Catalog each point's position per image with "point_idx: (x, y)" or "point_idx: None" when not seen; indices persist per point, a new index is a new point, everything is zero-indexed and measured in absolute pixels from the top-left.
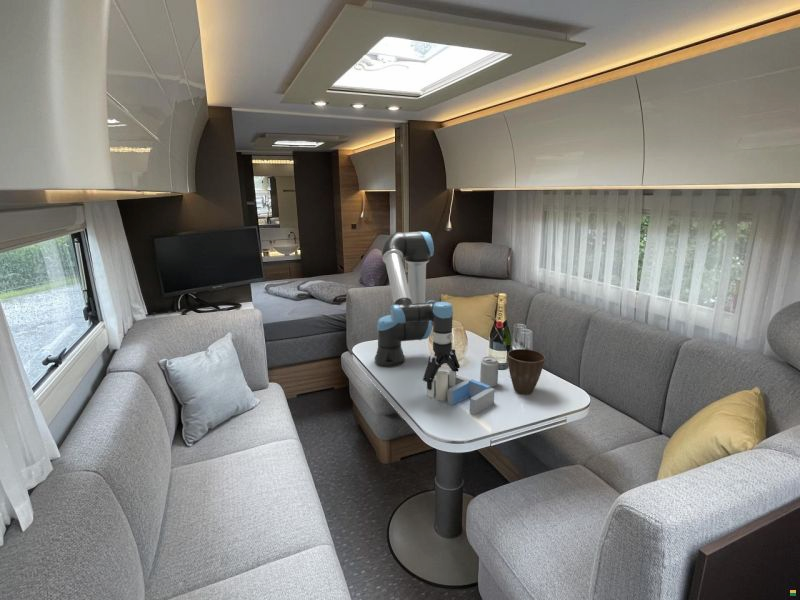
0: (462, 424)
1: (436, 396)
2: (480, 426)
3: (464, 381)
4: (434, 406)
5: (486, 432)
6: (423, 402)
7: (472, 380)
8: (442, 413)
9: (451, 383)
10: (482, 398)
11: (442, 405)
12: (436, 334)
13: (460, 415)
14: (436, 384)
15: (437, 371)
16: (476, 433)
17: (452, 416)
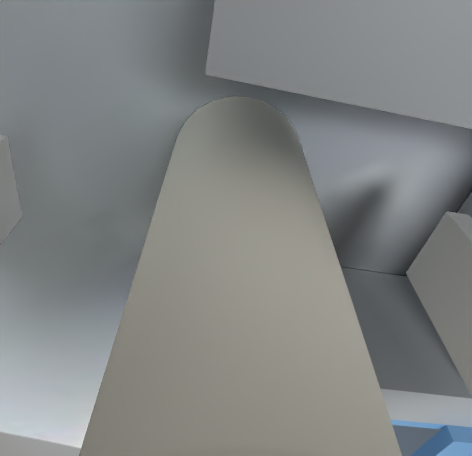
0: (28, 382)
1: (178, 141)
2: (87, 425)
3: (449, 402)
4: (45, 182)
5: (67, 444)
6: (3, 34)
7: (469, 453)
8: (17, 275)
9: (439, 261)
10: None
11: (117, 227)
12: None
13: (98, 352)
14: (148, 241)
15: (286, 448)
16: (25, 429)
17: (47, 329)
